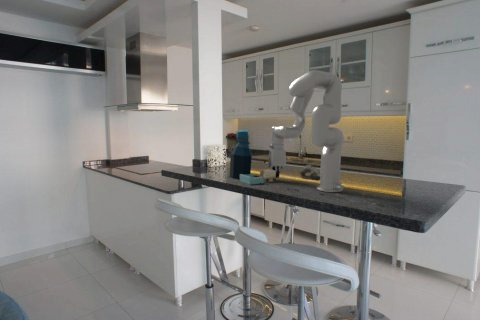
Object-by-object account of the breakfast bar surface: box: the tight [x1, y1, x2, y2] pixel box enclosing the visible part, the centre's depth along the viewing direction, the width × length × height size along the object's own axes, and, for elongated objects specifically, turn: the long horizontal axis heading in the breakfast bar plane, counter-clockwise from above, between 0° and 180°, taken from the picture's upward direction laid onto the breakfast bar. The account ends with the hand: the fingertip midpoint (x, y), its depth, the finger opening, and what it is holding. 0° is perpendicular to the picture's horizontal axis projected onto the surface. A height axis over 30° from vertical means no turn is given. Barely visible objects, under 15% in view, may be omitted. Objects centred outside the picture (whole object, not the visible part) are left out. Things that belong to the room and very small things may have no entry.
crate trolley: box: [259, 168, 277, 183], centre depth 180 cm, size 8×7×6 cm
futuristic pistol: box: [299, 164, 321, 181], centre depth 187 cm, size 2×15×10 cm, turn 53°
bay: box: [239, 173, 265, 185], centre depth 175 cm, size 12×9×4 cm
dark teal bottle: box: [229, 129, 253, 180], centre depth 193 cm, size 21×14×30 cm, turn 179°
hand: (276, 177), depth 183 cm, fingers closed
